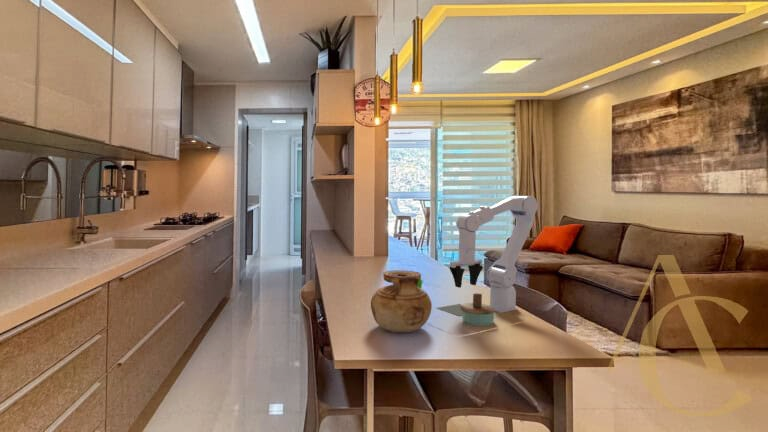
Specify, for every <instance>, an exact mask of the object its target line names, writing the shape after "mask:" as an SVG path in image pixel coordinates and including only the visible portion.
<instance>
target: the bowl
mask: <svg viewBox="0 0 768 432" xmlns="http://www.w3.org/2000/svg"><path fill="white" fill-rule="evenodd" d="M461 318H462V321H463V322H464V323H466V324H468V325H472V326H479V327H485V326H491V325H493V324H494V321H495V311H494V312H493V313H491V314H471V313H467V312H464V311H463V315H462V316H461Z"/></svg>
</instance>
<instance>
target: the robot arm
mask: <svg viewBox="0 0 768 432" xmlns="http://www.w3.org/2000/svg"><path fill="white" fill-rule="evenodd" d="M538 208H539V204H538V202H537V199H536V198H535V197H534V195H515V194H514V195H512V196H509V197H507V198H505V199H503V200H501V201H500V202H498V203H495V204H494V205H492V206H490V207H489V206H486V205H480V206H479V208H478V209H476V210H471V211H469V212H468V214H462V215H460V216H459V217H458V218H457V221H455V222H456V223H455V224H456V227H457V228H458V233H459V235H458V237H459V238H458V258H457V259H456V260H450V262H449V271H450V273H451V275H452V278H453V280H454V285H455V288H458V289H460V288H462V285H463V276H464V273H465V268H462V267H468V271H469V273H468V274H469V284H470V285H471V286H476V285H477V282H478V279H479V276H480V273H481V272H482V270H483V269H484V266H483V259H481V258H476V239H477V238H476V237H477V235H476V234H477V233H476V232H477V231H478V230H479V228H480V227H482V226H483V225H485V224H487V223H489V222H491V221H493V220H494V217H495V216H497V215H499V214H501V213H505V212H507V211H510V213H511V214H512V216H513V217H514V219H515V220H516V224H515V226H514V228H513V229H512V233H511V235H510V237H509V238H508V241H507V243H506V246H505V248H504V250H503V251H502V253H501V256H500V258H499V259H497V260H495V261H494V262H493V263H492V265H491V266H490V267H489V268H488V270H487V271H486V278H487V280H488V281H489V285H490V288H489V289H490V292H489V293H490V294H489V295H490V296H489V306H491V307H493V308H494V312H497V313H506V312H510V311H515V310H518V308H517V307H516V306H517V304H516V302H517V301H516V300H517V290H516V288H515V286H513V285H514V284H515V282H516V276H517V273H518V269H517V267H516V265H515V264H516V262H517V259H518V257H519V256H520V253H521V251H522V250H523V247H524V245H525V243H526V240H527V238H528V236H529V234H530V231H531V229H532V227H533V225H534V223H535V222H534V221H535V215H536V212H537V211H538Z"/></svg>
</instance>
